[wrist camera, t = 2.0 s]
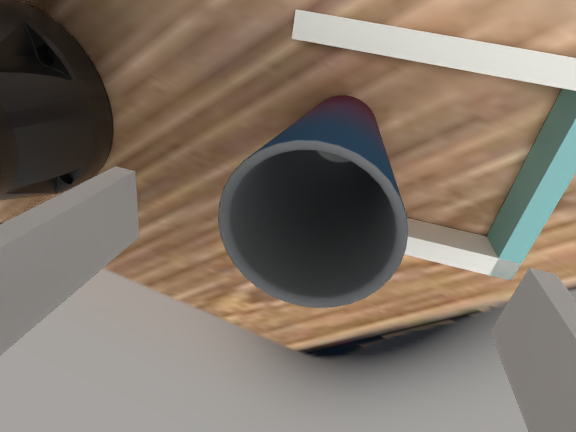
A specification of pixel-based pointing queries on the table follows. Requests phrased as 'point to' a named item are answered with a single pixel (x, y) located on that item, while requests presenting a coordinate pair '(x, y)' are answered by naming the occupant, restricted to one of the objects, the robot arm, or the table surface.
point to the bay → (537, 167)
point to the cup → (317, 210)
